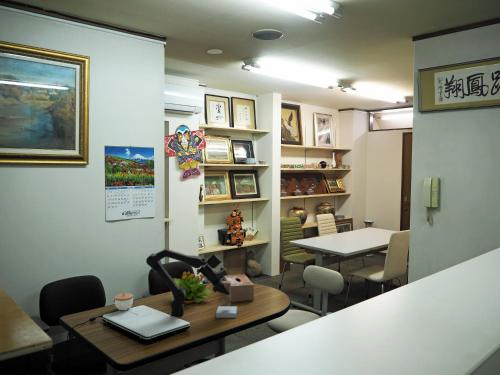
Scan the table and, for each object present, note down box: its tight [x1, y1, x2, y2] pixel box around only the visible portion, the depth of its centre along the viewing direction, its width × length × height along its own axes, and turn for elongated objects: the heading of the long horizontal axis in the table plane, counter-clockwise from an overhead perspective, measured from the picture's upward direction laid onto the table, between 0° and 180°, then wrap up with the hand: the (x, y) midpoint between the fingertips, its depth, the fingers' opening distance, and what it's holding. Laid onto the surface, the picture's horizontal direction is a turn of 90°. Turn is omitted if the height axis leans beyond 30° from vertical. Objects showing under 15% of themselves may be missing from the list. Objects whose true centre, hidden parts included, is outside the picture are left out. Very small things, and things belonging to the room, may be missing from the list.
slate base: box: [215, 305, 238, 319], centre depth 231 cm, size 11×11×2 cm
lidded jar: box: [114, 292, 134, 311], centre depth 240 cm, size 11×11×9 cm
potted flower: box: [171, 271, 214, 304], centre depth 255 cm, size 25×24×18 cm
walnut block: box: [222, 281, 232, 306], centre depth 231 cm, size 4×4×13 cm
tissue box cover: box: [223, 274, 255, 303], centre depth 267 cm, size 26×14×10 cm, turn 14°
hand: (229, 293), depth 231 cm, fingers closed on walnut block, 4 cm apart
